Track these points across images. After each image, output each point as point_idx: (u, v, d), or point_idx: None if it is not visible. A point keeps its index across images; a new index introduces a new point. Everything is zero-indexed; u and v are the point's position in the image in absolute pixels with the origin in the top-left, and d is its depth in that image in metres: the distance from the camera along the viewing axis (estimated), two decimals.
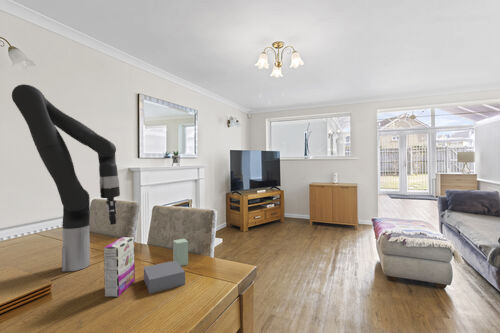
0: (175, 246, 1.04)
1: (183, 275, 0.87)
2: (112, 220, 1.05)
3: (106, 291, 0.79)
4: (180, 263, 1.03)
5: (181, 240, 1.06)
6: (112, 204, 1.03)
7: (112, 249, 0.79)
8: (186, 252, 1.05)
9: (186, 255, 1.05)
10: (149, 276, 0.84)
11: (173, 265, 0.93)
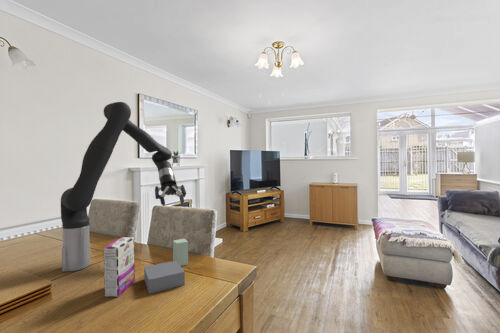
0: (175, 246, 1.04)
1: (182, 275, 0.87)
2: None
3: (106, 291, 0.79)
4: (180, 263, 1.03)
5: (181, 240, 1.06)
6: None
7: (112, 249, 0.79)
8: (186, 252, 1.05)
9: (186, 255, 1.05)
10: (149, 276, 0.84)
11: (173, 265, 0.93)
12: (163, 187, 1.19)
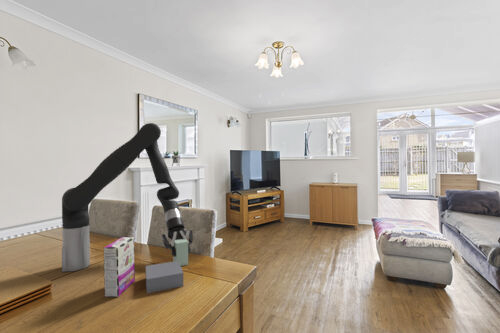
0: (175, 246, 1.04)
1: (181, 276, 0.86)
2: None
3: (106, 291, 0.79)
4: (180, 263, 1.03)
5: (181, 240, 1.06)
6: None
7: (112, 249, 0.79)
8: (186, 252, 1.05)
9: (186, 255, 1.05)
10: (147, 275, 0.84)
11: (174, 265, 0.92)
12: (170, 233, 1.08)
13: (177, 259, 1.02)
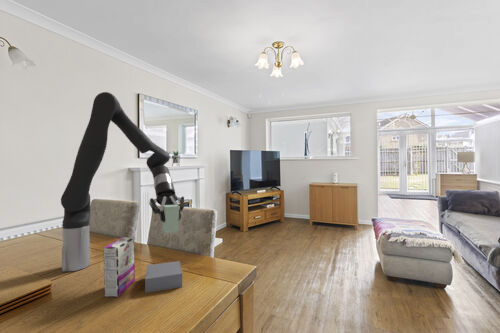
0: (164, 211, 0.93)
1: (179, 277, 0.86)
2: None
3: (106, 291, 0.79)
4: (169, 229, 0.93)
5: (171, 205, 0.96)
6: None
7: (112, 249, 0.79)
8: (176, 218, 0.94)
9: (176, 221, 0.94)
10: (147, 275, 0.84)
11: (174, 266, 0.92)
12: (159, 198, 0.97)
13: (166, 225, 0.92)
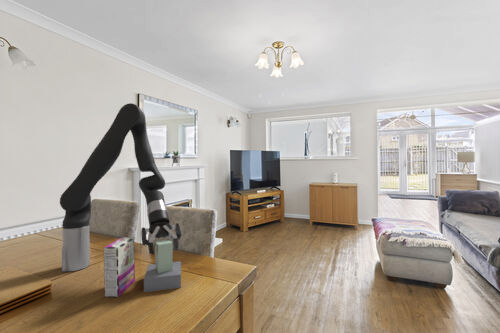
0: (157, 248, 0.87)
1: (178, 278, 0.85)
2: None
3: (106, 291, 0.79)
4: (163, 268, 0.87)
5: (165, 241, 0.90)
6: None
7: (112, 249, 0.79)
8: (170, 255, 0.88)
9: (170, 259, 0.88)
10: (146, 275, 0.85)
11: (175, 266, 0.92)
12: (152, 228, 0.92)
13: (159, 264, 0.86)
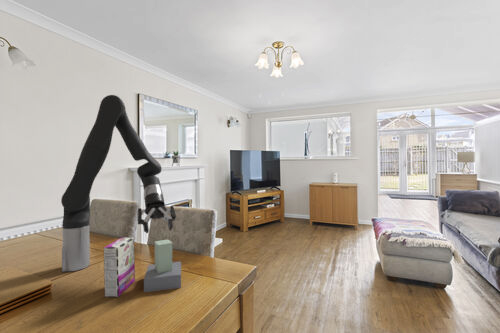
0: (157, 248, 0.87)
1: (178, 278, 0.85)
2: None
3: (106, 291, 0.79)
4: (162, 269, 0.87)
5: (165, 241, 0.90)
6: None
7: (112, 249, 0.79)
8: (170, 255, 0.88)
9: (170, 259, 0.88)
10: (146, 275, 0.85)
11: (175, 266, 0.92)
12: (148, 209, 0.97)
13: (159, 264, 0.86)
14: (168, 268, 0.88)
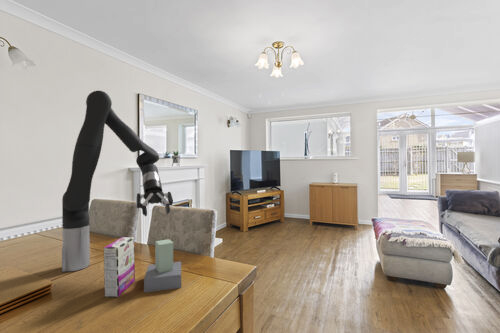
0: (158, 248, 0.87)
1: (178, 278, 0.85)
2: None
3: (106, 291, 0.79)
4: (163, 268, 0.87)
5: (165, 241, 0.90)
6: None
7: (112, 249, 0.79)
8: (171, 255, 0.89)
9: (171, 259, 0.89)
10: (146, 275, 0.85)
11: (175, 266, 0.92)
12: (146, 194, 1.03)
13: (160, 264, 0.86)
14: (169, 268, 0.88)
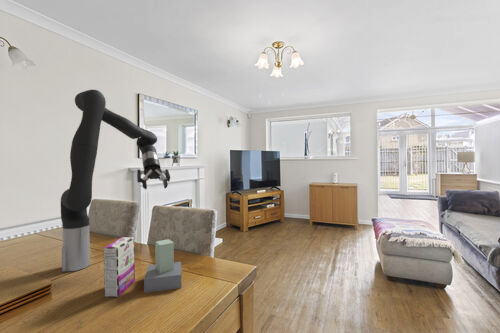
0: (158, 248, 0.87)
1: (178, 278, 0.85)
2: None
3: (106, 291, 0.79)
4: (164, 268, 0.87)
5: (166, 241, 0.90)
6: None
7: (112, 249, 0.79)
8: (171, 255, 0.89)
9: (171, 259, 0.89)
10: (146, 275, 0.84)
11: (175, 266, 0.92)
12: (146, 171, 1.14)
13: (161, 264, 0.86)
14: (170, 268, 0.88)
